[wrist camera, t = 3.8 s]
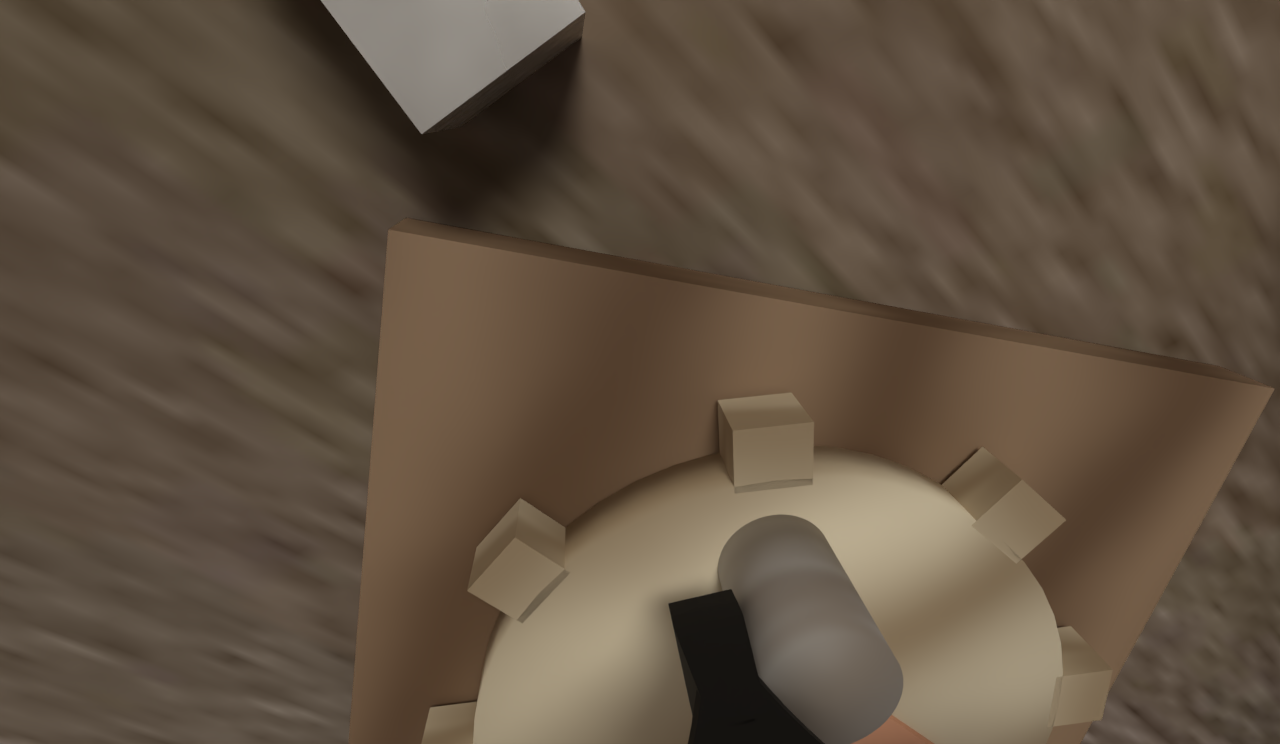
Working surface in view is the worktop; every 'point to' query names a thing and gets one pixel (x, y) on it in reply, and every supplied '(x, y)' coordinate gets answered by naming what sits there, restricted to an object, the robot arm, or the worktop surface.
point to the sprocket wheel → (782, 600)
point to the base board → (688, 429)
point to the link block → (456, 49)
